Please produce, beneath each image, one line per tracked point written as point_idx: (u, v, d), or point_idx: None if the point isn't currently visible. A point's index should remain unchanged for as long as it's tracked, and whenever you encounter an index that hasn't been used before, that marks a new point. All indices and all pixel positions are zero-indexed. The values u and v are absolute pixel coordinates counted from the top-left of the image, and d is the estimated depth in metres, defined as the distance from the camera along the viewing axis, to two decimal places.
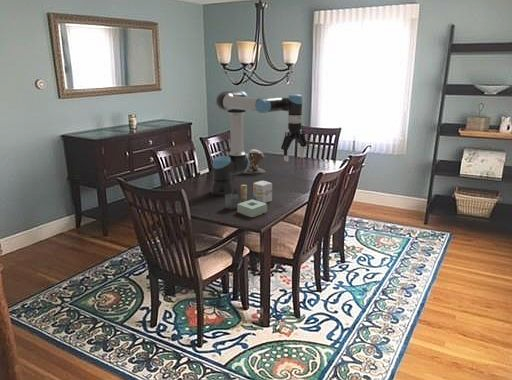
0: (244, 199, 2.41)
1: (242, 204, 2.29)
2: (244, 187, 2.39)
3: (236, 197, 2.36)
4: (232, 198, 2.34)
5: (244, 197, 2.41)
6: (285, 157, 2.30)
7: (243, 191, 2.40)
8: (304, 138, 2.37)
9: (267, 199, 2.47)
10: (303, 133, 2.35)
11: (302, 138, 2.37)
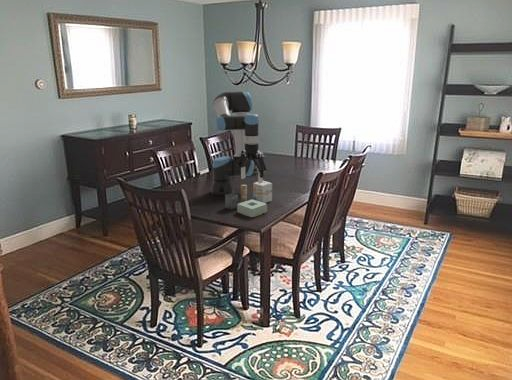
0: (244, 199, 2.41)
1: (242, 204, 2.29)
2: (244, 187, 2.39)
3: (236, 197, 2.36)
4: (232, 198, 2.34)
5: (244, 197, 2.41)
6: None
7: (243, 191, 2.40)
8: (260, 163, 2.17)
9: (267, 199, 2.47)
10: (258, 157, 2.17)
11: None
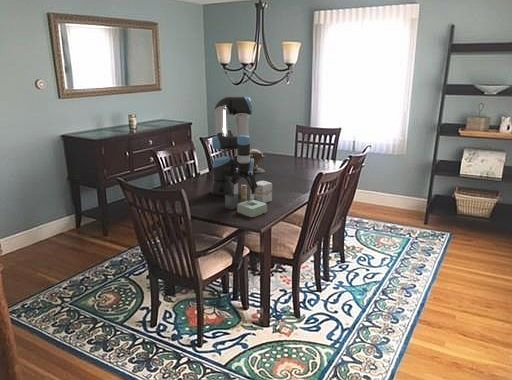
0: (244, 199, 2.41)
1: (242, 204, 2.29)
2: (244, 187, 2.39)
3: (236, 197, 2.36)
4: (232, 198, 2.34)
5: (244, 197, 2.41)
6: None
7: (243, 191, 2.40)
8: (251, 181, 2.33)
9: (267, 199, 2.47)
10: (250, 175, 2.33)
11: None
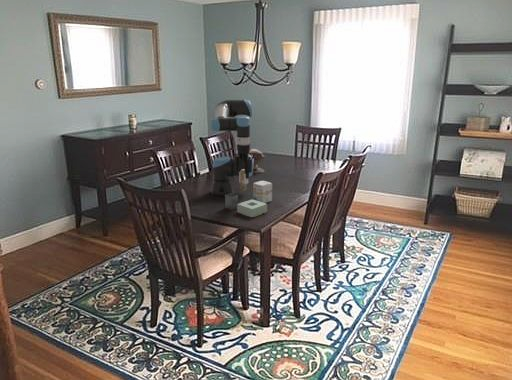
0: (244, 184, 2.39)
1: (242, 204, 2.29)
2: (244, 171, 2.37)
3: (236, 197, 2.36)
4: (232, 198, 2.34)
5: None
6: None
7: (243, 176, 2.37)
8: (248, 165, 2.33)
9: (267, 199, 2.47)
10: (248, 160, 2.31)
11: None
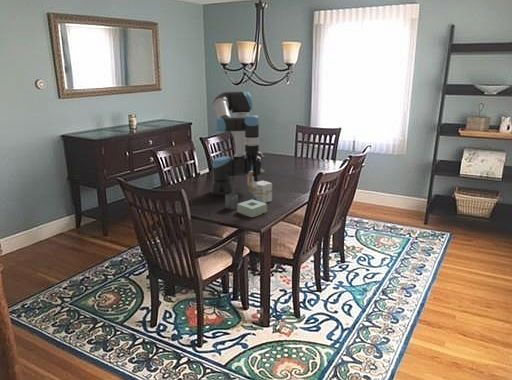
0: None
1: (242, 204, 2.29)
2: (252, 173, 2.23)
3: (236, 197, 2.36)
4: (232, 198, 2.34)
5: None
6: None
7: (251, 178, 2.23)
8: (256, 167, 2.19)
9: (267, 199, 2.47)
10: (257, 161, 2.18)
11: None
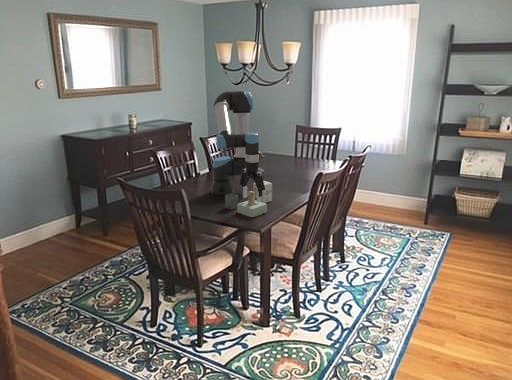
0: None
1: (242, 204, 2.29)
2: (252, 194, 2.27)
3: (236, 197, 2.36)
4: (232, 198, 2.34)
5: (252, 204, 2.28)
6: None
7: (251, 198, 2.27)
8: (259, 182, 2.20)
9: (267, 199, 2.47)
10: (258, 176, 2.20)
11: None
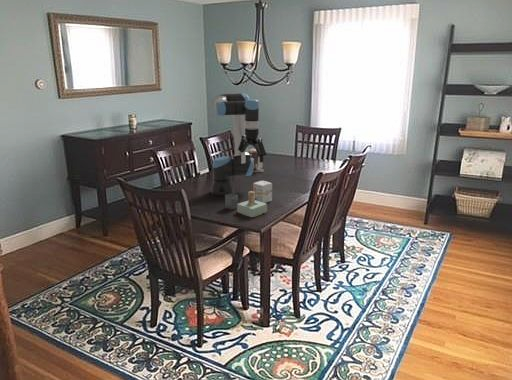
0: None
1: (242, 204, 2.29)
2: (252, 194, 2.26)
3: (236, 197, 2.36)
4: (232, 198, 2.34)
5: (252, 204, 2.28)
6: None
7: (251, 198, 2.27)
8: (260, 148, 2.20)
9: (267, 199, 2.47)
10: (258, 142, 2.20)
11: None
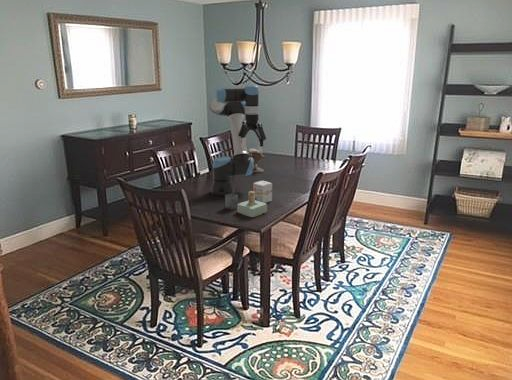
0: None
1: (242, 204, 2.29)
2: (252, 194, 2.26)
3: (236, 197, 2.36)
4: (232, 198, 2.34)
5: (252, 204, 2.28)
6: None
7: (251, 198, 2.27)
8: (260, 132, 2.27)
9: (267, 199, 2.47)
10: (258, 127, 2.27)
11: None
